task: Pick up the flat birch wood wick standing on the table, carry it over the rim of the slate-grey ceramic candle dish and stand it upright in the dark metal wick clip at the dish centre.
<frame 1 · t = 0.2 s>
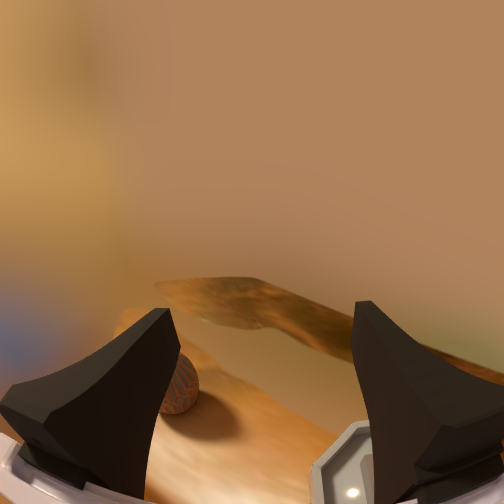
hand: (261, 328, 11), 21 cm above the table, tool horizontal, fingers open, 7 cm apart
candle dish: (392, 489, 18), on the table
vase: (175, 402, 32), on the table
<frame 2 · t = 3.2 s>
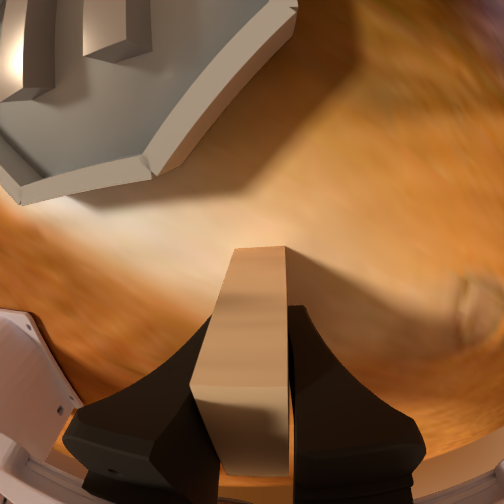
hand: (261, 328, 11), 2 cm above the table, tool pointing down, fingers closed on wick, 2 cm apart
coffee pot: (217, 492, 25), on the table
wick: (264, 300, 13), on the table, touching gripper
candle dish: (94, 10, 8), on the table
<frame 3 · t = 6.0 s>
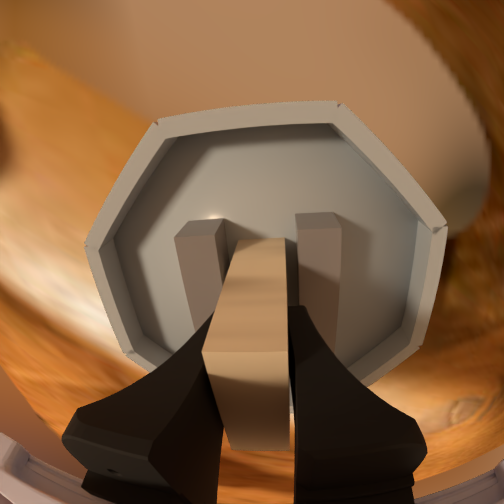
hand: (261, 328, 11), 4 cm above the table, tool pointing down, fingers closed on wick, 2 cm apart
wick: (265, 288, 14), point 1 cm above the table, touching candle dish, gripper
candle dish: (266, 277, 15), on the table
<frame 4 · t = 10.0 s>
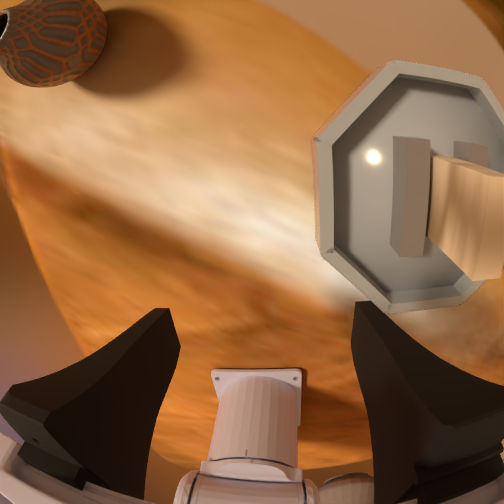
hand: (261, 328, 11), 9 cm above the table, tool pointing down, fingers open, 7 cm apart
coffee pot: (348, 469, 34), on the table
wick: (434, 192, 16), point 1 cm above the table, touching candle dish
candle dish: (427, 188, 17), on the table
vase: (84, 45, 15), on the table
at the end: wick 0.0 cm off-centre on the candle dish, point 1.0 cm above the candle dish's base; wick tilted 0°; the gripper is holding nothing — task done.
